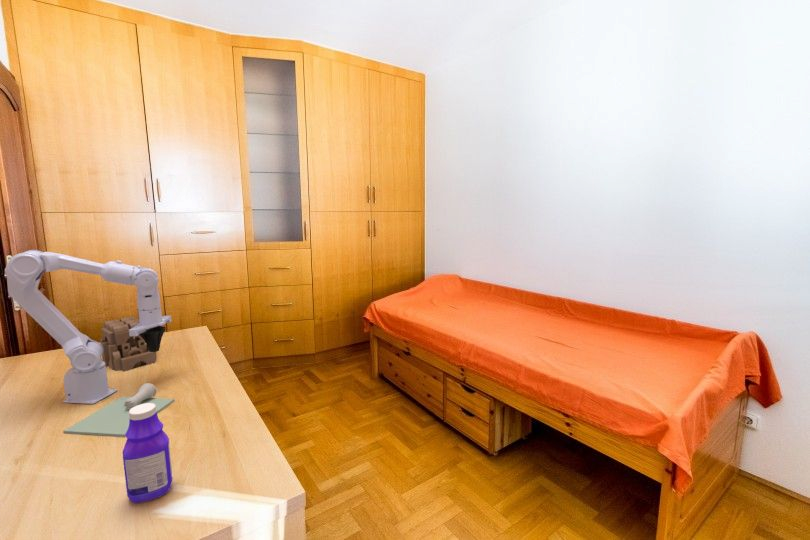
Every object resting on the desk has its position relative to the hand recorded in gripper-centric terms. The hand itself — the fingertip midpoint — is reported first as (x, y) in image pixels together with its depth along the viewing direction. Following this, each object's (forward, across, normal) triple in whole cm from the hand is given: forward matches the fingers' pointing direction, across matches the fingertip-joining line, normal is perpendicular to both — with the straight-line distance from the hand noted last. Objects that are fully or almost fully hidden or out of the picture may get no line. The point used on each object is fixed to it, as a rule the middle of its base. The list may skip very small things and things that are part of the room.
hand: (154, 351), depth 115 cm
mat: (+10, -18, -5) cm, 22 cm away
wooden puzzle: (+11, +17, +24) cm, 32 cm away
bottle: (+11, -43, -33) cm, 55 cm away
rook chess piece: (+8, -9, -5) cm, 13 cm away
